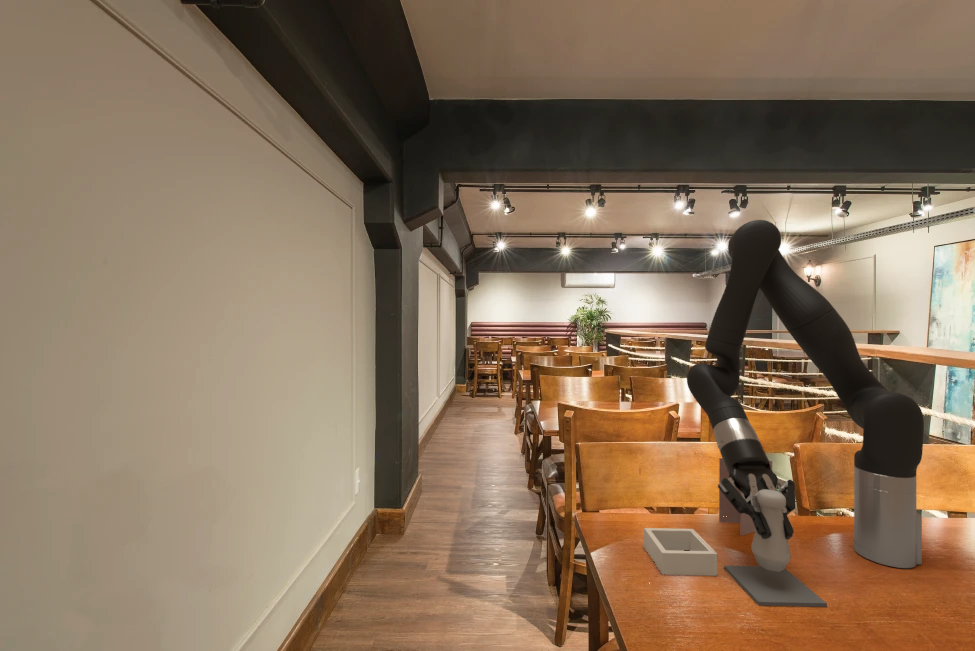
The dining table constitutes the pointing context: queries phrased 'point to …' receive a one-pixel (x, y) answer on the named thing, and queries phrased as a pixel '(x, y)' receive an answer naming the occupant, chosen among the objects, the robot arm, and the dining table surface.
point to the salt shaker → (776, 547)
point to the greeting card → (729, 509)
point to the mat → (774, 587)
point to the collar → (680, 552)
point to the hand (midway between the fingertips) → (777, 537)
